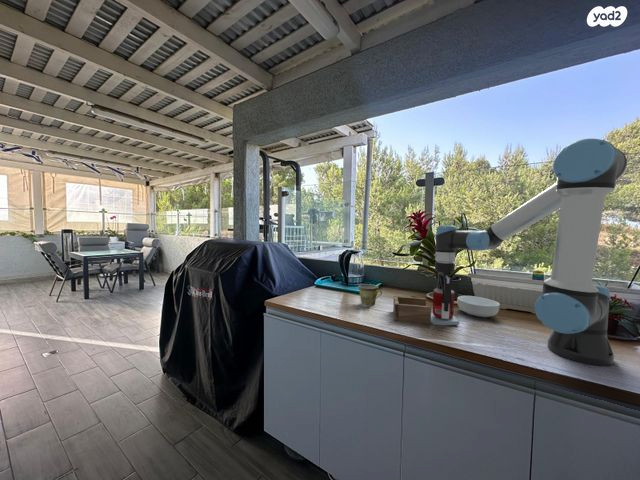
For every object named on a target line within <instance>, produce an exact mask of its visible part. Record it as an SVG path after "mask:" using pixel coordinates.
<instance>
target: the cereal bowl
mask: <svg viewBox="0 0 640 480" xmlns="http://www.w3.org/2000/svg"><path fill="white" fill-rule="evenodd" d="M457 306H458V307H459V309H460V311H463V312H464V313H465V314H468V315H471V316H474V317H480V318H490V317H493V316H495V315H497V314H498V313H499V311H500V307H501V305H500V303H499V302H498V301H497V300H496V301H495V300H493V299H489V298H486V297H481V296H475V295H474V296H473V295H461V296H458V297H457Z"/></svg>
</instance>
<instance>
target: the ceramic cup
mask: <svg viewBox="0 0 640 480" xmlns="http://www.w3.org/2000/svg"><path fill="white" fill-rule="evenodd" d="M358 290H359V296H360V304H361V306H362V307H364V308H371V307H373V306H375V305H376V300H377V299H378V298H379V297H381V296H382V294H383V292H382V290H381V289H379V286H378V285H375V284H371V283H369V284H368V283H360V284H359V285H358ZM378 292H379V293H380V294H379V295H378Z"/></svg>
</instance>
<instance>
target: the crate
mask: <svg viewBox="0 0 640 480" xmlns="http://www.w3.org/2000/svg"><path fill="white" fill-rule="evenodd" d="M392 309H393V310H392V311H393V318H394V322H396V323H406V324H414V325H415V324H417V325H427V326H428V325H429V326H434V324H433V323H431V313H432V307H431V306H428V305H427V299H426V298H425V297H412V296H400V295H398V296H397V295H393V308H392Z"/></svg>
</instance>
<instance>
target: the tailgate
mask: <svg viewBox="0 0 640 480" xmlns="http://www.w3.org/2000/svg"><path fill="white" fill-rule="evenodd" d="M459 321H460V320H458V319H457V317H456V316H455V315H454V314H453V317H452V318H450V319H443V318H439V317H436V316H434V315H433V312H431V323H433V325H439V326H459V325H460V322H459Z"/></svg>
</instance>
